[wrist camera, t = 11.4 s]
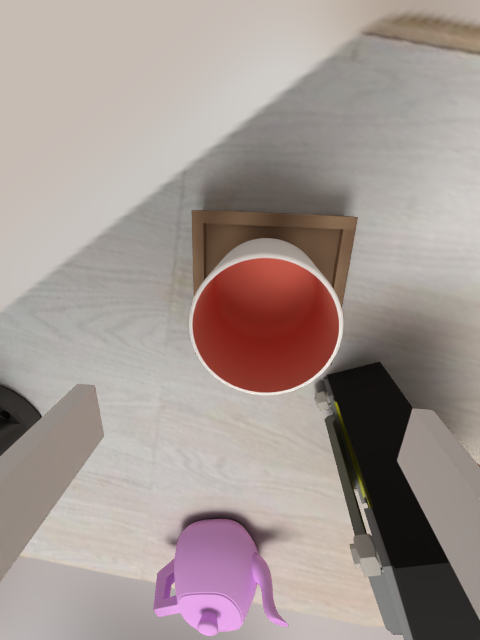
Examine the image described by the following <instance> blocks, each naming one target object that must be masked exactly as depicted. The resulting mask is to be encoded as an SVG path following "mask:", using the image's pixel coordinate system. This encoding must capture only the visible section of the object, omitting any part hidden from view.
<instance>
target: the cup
mask: <svg viewBox="0 0 480 640" xmlns="http://www.w3.org/2000/svg"><path fill="white" fill-rule="evenodd" d="M343 323H344V322H343V312H342V308H341V304H340V302H339V299H338V296H337V294H336V293H335V291H334V289H333V287H332V286H331V284H330V283H329V282H328V280H327V279H326V278H325V277H324V276H323V274H322V273H321V272H320V271H319V269H318V268H317V267H316V266H315V265H314V263H313V262H312V261H311V260H310V259H309V257H308V256H307V255H306V254H305V253H304V252H303V251H302V250H300V249H299V248H298V247H296V246H294V245H292V244H290V243H288V242H286V241H283V240H279V239H273V238H260V239H254V240H250V241H247V242H245V243H242V244H240V245H239V246H237V247H235V248H234V249H233V250H231V251H230V252H229V253H228V254H227V255H226V256H225V257H224V258H223V259H222V260H221V262H220V263H219V264H218V265H217V266H216V267H215V268H214V270H213V271H212V272H211V273H210V274H209V275H208V277H207V278H206V279H205V280H204V281H203V282H202V284H201V285H200V287H199V288H198V290H197V292H196V294H195V296H194V298H193V301H192V304H191V308H190V313H189V334H190V339H191V342H192V346H193V348H194V350H195V353H196V355H197V356H198V358H199V360H200V361H201V363H202V364H203V365H204V367H205V368H206V369H207V370H208V371H209V372H210V373H211V374H212V375H213V376H214V377H216V378H217V379H218V380H220V381H221V382H222V383H224V384H226V385H228V386H230V387H232V388H234V389H236V390H239V391H242V392H246V393H250V394H257V395H276V394H283V393H287V392H291V391H294V390H296V389H299V388H301V387H303V386H305V385H307V384H309V383H310V382H312V381H313V380H315V379H316V378H317V377H318V376H320V375H321V374H322V373H323V372H324V371H325V370H326V369H327V367H328V366H329V365H330V364H331V362H332V361H333V359H334V357H335V355H336V354H337V352H338V349H339V347H340V344H341V340H342V335H343Z"/></svg>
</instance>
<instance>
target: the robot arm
mask: <svg viewBox="0 0 480 640" xmlns="http://www.w3.org/2000/svg"><path fill="white" fill-rule="evenodd" d="M103 437H104V432H103V427H102V421H101V416H100V411H99V405H98V400H97V395H96V389H95V385H83V384H77V385H76V386H75V387H74V388H73V389H72V390H71V391H70V392H69V393H68V394H66V395H65V396H64V397H63V398H62V399H61V400H60V401H59V402H58V403H57V404H56V405H55V406H54V407H53V408H51V409H50V410H49V411H48V412H47V413H46V414H45V415H44V416H43V417H42V418H41V417H40V415H39V414H38V413H37V411H36V410H35V409H34V408H33V407H32V406H31V405H30V404H29V403H28V402H27V401H26V400H24V399H23V398H22V397H20V396H19V395H17V394H16V393H14V392H12V391H10V390H8V389H6V388H4V387H1V386H0V582H1V580H2V579H3V577H4V576H5V574H6V573H7V572H8V570H9V569H10V567H11V566H12V565H13V563H14V562H15V561H16V559H17V558H18V556H19V555H20V553H21V552H22V551H23V549H24V548H25V546H26V545H27V544H28V542H29V541H30V539H31V538H32V537H33V535H34V534H35V532H36V531H37V530H38V528H39V527H40V525H41V524H42V523H43V521H44V520H45V518H46V517H47V516H48V514H49V513H50V511H51V510H52V508H53V507H54V506H55V504H56V503H57V501H58V500H59V499H60V497H61V496H62V494H63V493H64V492H65V490H66V489H67V487H68V486H69V485H70V483H71V482H72V480H73V479H74V478H75V476H76V475H77V473H78V472H79V470H80V469H81V468H82V466H83V465H84V463H85V462H86V461H87V459H88V458H89V456H90V455H91V454H92V452H93V451H94V449H95V448H96V447H97V445H98V444H99V442H100V441H101V440H102V438H103ZM397 462H398V464H399V465H400V467H401V469H402V471H403V473H404V475H405V477H406V479H407V481H408V483H409V485H410V487H411V489H412V491H413V492H414V494H415V496H416V498H417V500H418V502H419V504H420V506H421V508H422V510H423V512H424V514H425V516H426V517H427V519H428V521H429V523H430V525H431V527H432V529H433V531H434V533H435V535H436V537H437V539H438V541H439V543H440V544H441V546H442V548H443V550H444V552H445V554H446V556H447V558H448V560H449V562H450V564H451V566H452V568H453V570H454V571H455V573H456V575H457V577H458V579H459V581H460V583H461V585H462V587H463V589H464V591H465V593H466V595H467V596H468V598H469V600H470V602H471V604H472V606H473V608H474V610H475V612H476V614H477V616H478V618H479V620H480V466H479V465H478V464H477V463H476V462H475V460H474V459H473V458H472V457H471V456H470V454H469V453H468V452H467V451H466V450H465V448H464V447H463V446H462V445H461V443H460V442H459V441H458V440H457V439H456V437H455V436H454V435H453V434H452V433H451V431H450V430H449V429H448V428H447V427H446V425H445V424H444V423H443V422H442V420H441V419H440V418H439V417H438V416H437V414H436V413H435V412H434V411H433V410H428V409H415V408H413V409H412V412H411V415H410V419H409V422H408V425H407V429H406V432H405V435H404V439H403V442H402V445H401V449H400V452H399V456H398V459H397Z"/></svg>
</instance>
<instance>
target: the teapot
mask: <svg viewBox="0 0 480 640" xmlns="http://www.w3.org/2000/svg"><path fill="white" fill-rule="evenodd" d="M174 582H175V588H176V596H173V597H170V591H171V585H172V584H173V583H174ZM257 583H258V584H259V586H260V587H261V591H262V599H263V607H264V611H265V613H266V616H267V617H268V619H269V620H270V621H271V622H273V623H275V624H278V625H280V626H285V627H288V624H287V623H286V622H285V621H284V620H283V619H282V617H281V616H280V615H279V614H278V612H277V610H276V607H275V604H274V599H273V589H272V579H271V574H270V570H269V568H268V565H267V563H266V562H265V560H264V559H263V558H262V557H261V556H260V555H259V554H258V550H257V548H256V546H255V543H254V541H253V540H252V538H251V536H250V535H249V533H248V532H247V530H246V529H245V528H244V527H243V526H242V525H241V524H239V523H238V522H236V521H233V520H229V519H208V520H201V521H197V522H194V523H192V524H190V525H189V526H188V527H187V528H186V529H185V530H184V531H183V532H182V533H181V534H180V536H179V539H178V542H177V546H176V553H175V559H173V560H172V561H171V562H170V563H169V564H168V565H166V566H165V567H164V568H163V569H162V570H160V571H159V572H158V573H157V582H156V590H155V599H154V608H153V610H154V611H155V613H156V614H157V616H158V617H162V616H167V615H172V614H177V613H181V615H182V616H183V618H184V619H185V620H186V621H187V622H188V623H189V624H190V625H191V626H192V627H194V628H196V629H197V630H198V631H199V632H200V633H202V634H204V635H207V636H213V635H216V634H217V633H218V632H222V631H233V630H237V629H239V628H240V627H241V625H242V624H243V622H244V620H245V617H246V615H247V613H248V611H249V608H250V606H251V603H252V600H253V598H254V594H255V591H256V587H257Z"/></svg>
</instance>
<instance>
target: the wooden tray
mask: <svg viewBox="0 0 480 640" xmlns="http://www.w3.org/2000/svg"><path fill="white" fill-rule="evenodd" d="M357 219H358V217H351V216H337V215H312V214H287V213H263V212H238V211H213V210H193V211H192V240H193V282H194V296H195V294H196V292H197V290H198V288H199V287H200V285H201V284H202V282H203V281H204V280H205V279H206V278H207V277H208V275H209V274H210V273H211V272H212V271H213V270H214V268H215V267H216V266H217V265H218V264H219V263H220V262H221V260H222V259H223V258H224V257H225V256H226V255H227V254H228V253H229V252H230V251H231V250H233V249H234V248H235V247H237V246H239V245H240V244H242V243H245V242H247V241H250V240H254V239H260V238H273V239H279V240H283V241H286V242H288V243H290V244H292V245H294V246H296V247H298V248H299V249H300V250H302V251H303V252H304V253H305V254H306V255H307V256H308V257H309V259H310V260H311V261H312V262H313V263H314V265H315V266H316V267H317V268H318V269H319V271H320V272H321V273H322V274H323V276H324V277H325V278H326V279H327V280H328V282H329V283H330V284H331V286H332V287H333V289H334V291H335V293H336V294H337V296H338V299H339V302H340V304H341V308H342V304H343V298H344V292H345V287H346V281H347V275H348V270H349V264H350V258H351V253H352V247H353V241H354V236H355V230H356V224H357ZM195 354H196V353H195ZM331 365H332V362H331Z"/></svg>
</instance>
